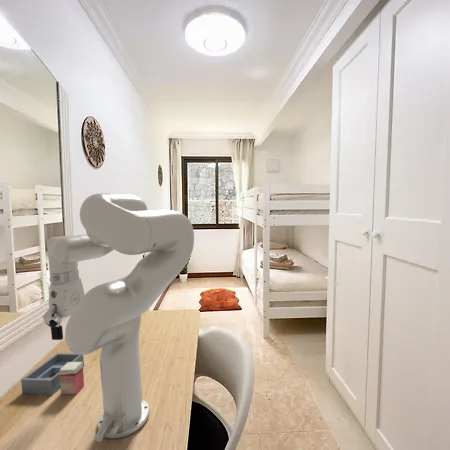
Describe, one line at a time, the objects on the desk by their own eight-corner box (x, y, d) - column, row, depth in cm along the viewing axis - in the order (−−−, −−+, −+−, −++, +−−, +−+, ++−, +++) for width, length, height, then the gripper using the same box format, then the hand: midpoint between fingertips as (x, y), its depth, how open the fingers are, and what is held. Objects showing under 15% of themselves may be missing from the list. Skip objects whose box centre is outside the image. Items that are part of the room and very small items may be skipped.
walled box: (52, 395, 80) (50, 380, 80) (22, 393, 82) (21, 379, 81) (84, 365, 95) (83, 353, 95) (58, 365, 96) (57, 353, 96)
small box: (60, 395, 80) (58, 369, 80) (69, 385, 84) (67, 361, 84) (77, 394, 80) (74, 369, 80) (84, 385, 84) (83, 361, 84)
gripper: (54, 284, 72) (59, 346, 73) (93, 270, 89) (97, 320, 90) (29, 285, 73) (35, 345, 74) (73, 270, 90) (77, 320, 91)
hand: (69, 331), depth 82 cm, fingers open, 9 cm apart
